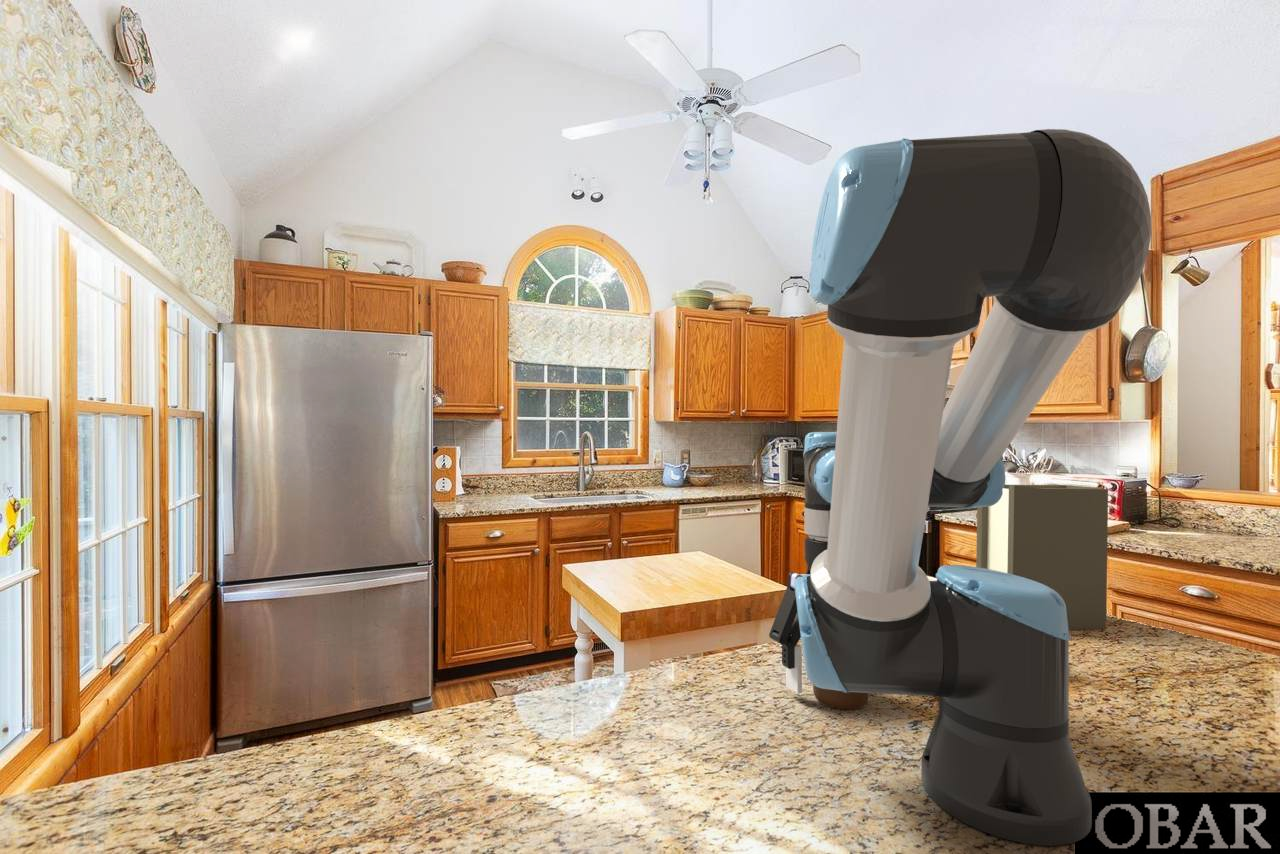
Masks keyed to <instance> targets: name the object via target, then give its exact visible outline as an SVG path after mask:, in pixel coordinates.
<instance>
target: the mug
mask: <svg viewBox="0 0 1280 854" xmlns="http://www.w3.org/2000/svg"><path fill="white" fill-rule="evenodd" d="M812 688H813V689H812V690H813V696H814V698H815V699H816V700H817V701H819V702H820V703H821V704H822V705H825V706H827V707H830V708H833V709H839V710H848V711H849V710H858V709H861V708H863V707H865V706H866V705H867V703H868V701H869V695H870V693H859V692H849V693H848V692H846V693H844V692H843V691H838V690H830V689H823V688H819V687H816V686H815V685H813V684H812Z"/></svg>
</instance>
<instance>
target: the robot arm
mask: <svg viewBox="0 0 1280 854" xmlns="http://www.w3.org/2000/svg"><path fill="white" fill-rule="evenodd" d="M1151 237H1152V215H1151V207H1150V203H1149V198H1148V194H1147V192H1146V189H1145V186H1144V184H1143V183H1142V181H1141V178H1140V176H1139V175H1138V173H1137V171H1136V170H1135V168H1134V167H1133V165H1132V164H1131V163H1130V162H1129V161H1128V160H1127V159H1126V158H1125V157H1124V155H1122V154H1121V153H1120V152H1119V151H1117V149H1115V148H1114V147H1113V146H1111V145H1110V144H1109V143H1107V142H1105V141H1102V140H1101V139H1099V138H1097V137H1094V136H1092V135H1090V134H1087V133H1084V132H1080V131H1075V130H1071V129H1070V130H1069V129H1062V128H1061V129H1060V128H1059V129H1056V128H1047V129H1046V128H1045V129H1036V130H1032V131H1028V132H1013V133H1011V132H1010V133H999V134H998V133H997V134H996V133H995V134H982V135H981V134H980V135H967V136H965V135H963V136H952V137H951V136H950V137H949V136H948V137H935V138H921V139H919V138H918V139H910V138H904V137H903V138H902V139H900V140H893V141H887V142H880V143H875V144H867V145H862V146H857V147H854V148H851V149H849V150H848V151H847V152H845V153H844V154H842V156H841V157H839V158H838V159H837V160H836V163H835V164H834V166H833V167H832V169H831V171H830V173H829V176H828V177H827V182H826V184H825V186H824V190H823V193H822V197H821V201H820V206H819V208H818V214H817V218H816V224H815V229H814V235H813V241H812V246H811V247H812V249H811V265H810V274H809V288H810V295H811V297H812V299H813V300H814V301H815V302H816V303H821V304H822V305H823V306H825V305H826V306H827V314H826V319H827V323H828V324H829V325H830V326H831V327H832V328H833V329H834V330H835V331H836V332H837V334H839V335H840V336H841V338H842V339H843V345H842V346H843V348H842V361H841V370H840V371H841V372H840V387H839V397H838V398H839V399H838V400H839V401H838V409H837V412H838V413H837V423H836V431H812V432H809V433H807V434H805V438H804V450H803V452H802V454H803V455H802V456H803V461H804V467H803V468H804V501H805V502H804V511H803V513H804V515H803V516H804V518H803V519H804V521H803V522H804V524H803V525H804V527H803V529H804V533H805V535H807V536H806V538H804V560H805V563H806V565H807V569H806V572H805V574H804V573H803V574H802V573H801V574H800V573H796V572H794V571H790V572H789V573H788V575H787V582H786V583H787V584H786V590H785V592H784V594H783V596H782V600H781V603H780V605H779V607H778V610H777V613H776V615H775V617H774V620H773V623H772V625H771V628H770V631H769V634H768V636H769V639H771V640H773V641H774V642H777V643H779V644H780V645H781V663H782V666H783V667H785V687H786V688H788V689H790V690H791V691H793V692H794V693H796V694H802V693H803V673H802V672H803V663H804V669H805V674H806V675H805V676H806V677H807V679H808V681H810V683H811V684H812V686H813V685H815V686H816V687H819V688H823V689H830V690H838V691H843V692H844V693H846V692H848V693H849V692H859V693H869V694H880V695H884V694H885V695H902V696H903V695H904V696H921V697H923V696H924V697H925V696H926V697H938V712H937V714H936V717H935V720H934V722H933V725H932V727H931V731H930V732H929V736H928V739H927V741H926V744H925V748H924V750H923V751H922V756H921V761H920V762H921V763H920V765H921V767H920V769H921V771H920V772H921V773H920V774H921V775H920V776H921V784H922V786H923V788H924V791H925V792H926V794H927V795H928V796H929V797H930V799H931V800H932V801H933V802H934V803H935V804H936V805H937V806H938V807H940V809H942V810H943V811H945V812H946V813H948V814H949V815H950V816H952V817H953V818H955V819H956V820H959V821H960V822H962V823H964V824H966V825H968V826H970V827H971V828H975V829H976V830H979V831H982V832H984V833H987V834H989V835H991V836H995V837H997V838H1001V839H1004V840H1009V841H1012V842H1016V843H1017V842H1018V843H1022V844H1029V845H1034V846H1046V847H1047V846H1050V847H1051V846H1064V845H1070V844H1073V843H1076V842H1079V841H1081V840H1083V839H1084V838H1086V837H1087V836H1088V835H1089V834H1090V832H1091V829H1092V826H1093V825H1092V824H1093V823H1092V822H1093V819H1092V817H1093V816H1092V814H1093V811H1092V809H1093V808H1092V807H1093V806H1092V799H1091V796H1090V792H1089V790H1088V789H1087V786H1086V783H1085V780H1084V777H1083V774H1082V771H1081V767H1080V764H1079V762H1078V759H1077V757H1076V754H1075V751H1074V748H1073V746H1072V743H1071V740H1070V739H1071V738H1070V729H1069V726H1070V725H1069V721H1070V720H1069V717H1070V716H1069V715H1070V714H1069V713H1070V711H1069V709H1070V708H1069V706H1070V705H1069V704H1070V702H1069V700H1070V699H1069V697H1070V696H1069V695H1070V694H1069V693H1070V692H1069V691H1070V690H1069V689H1070V687H1069V686H1070V685H1069V679H1070V678H1069V675H1070V672H1069V669H1070V668H1069V667H1070V665H1069V662H1070V661H1069V652H1070V651H1069V647H1070V645H1069V644H1070V642H1069V641H1071V638H1072V637H1071V634H1070V630H1069V629H1068V620H1067V612H1066V605H1065V602H1064V600H1063V599H1062V597H1061V596H1060V595H1059V594H1058V593H1057V592H1056V591H1055V590H1053V589H1052V588H1050V587H1048V586H1046V585H1044V584H1041V583H1039V582H1036V581H1033V580H1030V579H1027V578H1024V577H1020V576H1016V575H1013V574H1009V573H1005V572H1000V571H995V570H990V569H985V568H979V567H976V566H972V565H964V564H963V565H962V564H947V565H946V564H945V565H944V564H943V565H941V566H940V567H939V568H938V569H937V572H936V573H935V578H936V579H937V580H936V581H929V579H928V577H927V576H928V575H927V574H926V573H925V571H924V570H923V569H922V567H920V566H919V563H920V562H919V561H920V557H921V550H922V544H923V539H924V538H923V537H924V532H925V524H926V520H927V519H926V518H927V513H928V508H929V507H931V508H933V507H934V508H958V509H963V510H964V509H965V510H966V509H971V508H977V507H987V506H992V505H994V504H996V503H997V502H998V501H999V500H1000V498H1001V497H1002V495H1003V491H1002V490H1003V488H1004V486H1005V485H1006V470H1005V465H1004V462H1003V460H1002V458H1001V457H1002V456H1003V454H1004V453H1005V452H1006V450H1007V449H1008V447H1009V446H1010V444H1011V443H1012V441H1013V440H1014V439H1015V437H1016V435H1017V434H1018V432H1019V431H1020V430H1021V428H1022V427H1023V425H1024V424H1025V422H1026V421H1027V420H1028V418H1029V417H1030V415H1031V414H1032V412H1033V411H1034V410H1035V408H1036V406H1037V405H1038V404H1039V402H1040V400H1041V399H1042V398H1043V396H1044V395H1045V394H1046V391H1047V390H1048V389H1049V388H1050V386H1051V384H1052V383H1053V382H1054V380H1055V379H1056V378H1057V376H1058V374H1060V371H1061V370H1062V369H1063V367H1064V366H1065V364H1066V363H1067V361H1068V360H1069V358H1070V357H1071V356H1072V354H1073V353H1074V351H1075V350H1076V349H1077V347H1078V345H1079V344H1080V343H1081V342H1082V340H1083V339H1084V338H1085V335H1086V334H1087V333H1089V332H1094V331H1096V330H1098V329H1101V328H1103V327H1104V326H1106V325H1108V324H1109V323H1110V322H1111V321H1112V320H1113V319H1114V317H1116V315H1117V314H1118V312H1119V311H1120V309H1121V308H1122V307H1123V305H1124V304H1125V303H1126V301H1127V300H1128V299H1129V297H1130V296H1131V294H1132V292H1133V290H1134V289H1135V287H1136V285H1137V284H1138V283H1139V282H1138V281H1139V280H1140V278H1141V275H1142V274H1143V270H1144V268H1145V264H1146V261H1147V258H1148V254H1149V250H1150V243H1151ZM989 297H992V298H993V300H994V302H993V305H992V307H991V308H990V310H989V311H990V312H989V313H988V315H987V317H986V320H985V321H984V324H983V326H982V328H981V330H980V333H979V334H978V336H977V339H976V341H975V343H974V345H973V347H972V349H971V351H970V353H969V355H968V358H967V360H966V362H965V364H964V365H963V368H962V370H961V373H960V375H959V376H958V378H957V381H956V383H955V386H954V387H953V389H952V391H951V394H950V396H949V398H948V400H947V402H946V396H947V390H948V385H949V379H950V378H949V377H950V372H951V366H952V360H953V354H954V347H955V345H956V344H957V343H959V342H960V341H962V339H965V338H966V337H967V336H969V335H970V334H971V333H973V332H975V331H976V330H977V329H978V328H979V325H980V322H981V316H982V311H983V305H984V300H985V299H986V298H989ZM945 403H946V404H945ZM799 641H800V642H801V645H799V644H798V643H799ZM802 658H803V659H802Z"/></svg>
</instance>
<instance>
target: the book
mask: <svg viewBox="0 0 1280 854" xmlns="http://www.w3.org/2000/svg"><path fill="white" fill-rule="evenodd" d="M1002 491H1003V495H1002V497H1001V498H1000V500H999V501H998V502H997V503H996V504H994V505H992V506H987V507H976V512H977V513H976V558H975V559H976V562H975V565H976V566H975V567H979V568H985V569H990V570H995V571H1000V572H1005V573H1009V574H1013V575H1016V576H1020V577H1024V578H1027V579H1030V580H1033V581H1036V582H1039V583H1041V584H1044V585H1046V586H1048V587H1050V588H1052V589H1053V590H1055V591H1056V592H1057V593H1058V594H1059V595H1060V596H1061V597H1062V599H1063V600H1064V602H1065V605H1066V612H1067V620H1068V629H1069V631H1071V630H1074V631H1075V630H1107V605H1108V604H1107V596H1108V595H1107V594H1108V593H1107V592H1108V591H1107V590H1108V589H1107V588H1108V534H1109V533H1108V531H1109V530H1108V527H1109V524H1108V522H1109V519H1108V518H1109V517H1108V516H1109V506H1108V505H1109V488H1101V487H1100V488H1099V487H1093V486H1083V485H1082V486H1081V485H1080V486H1079V485H1072V484H1005V486H1004V488H1003V490H1002Z"/></svg>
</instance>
